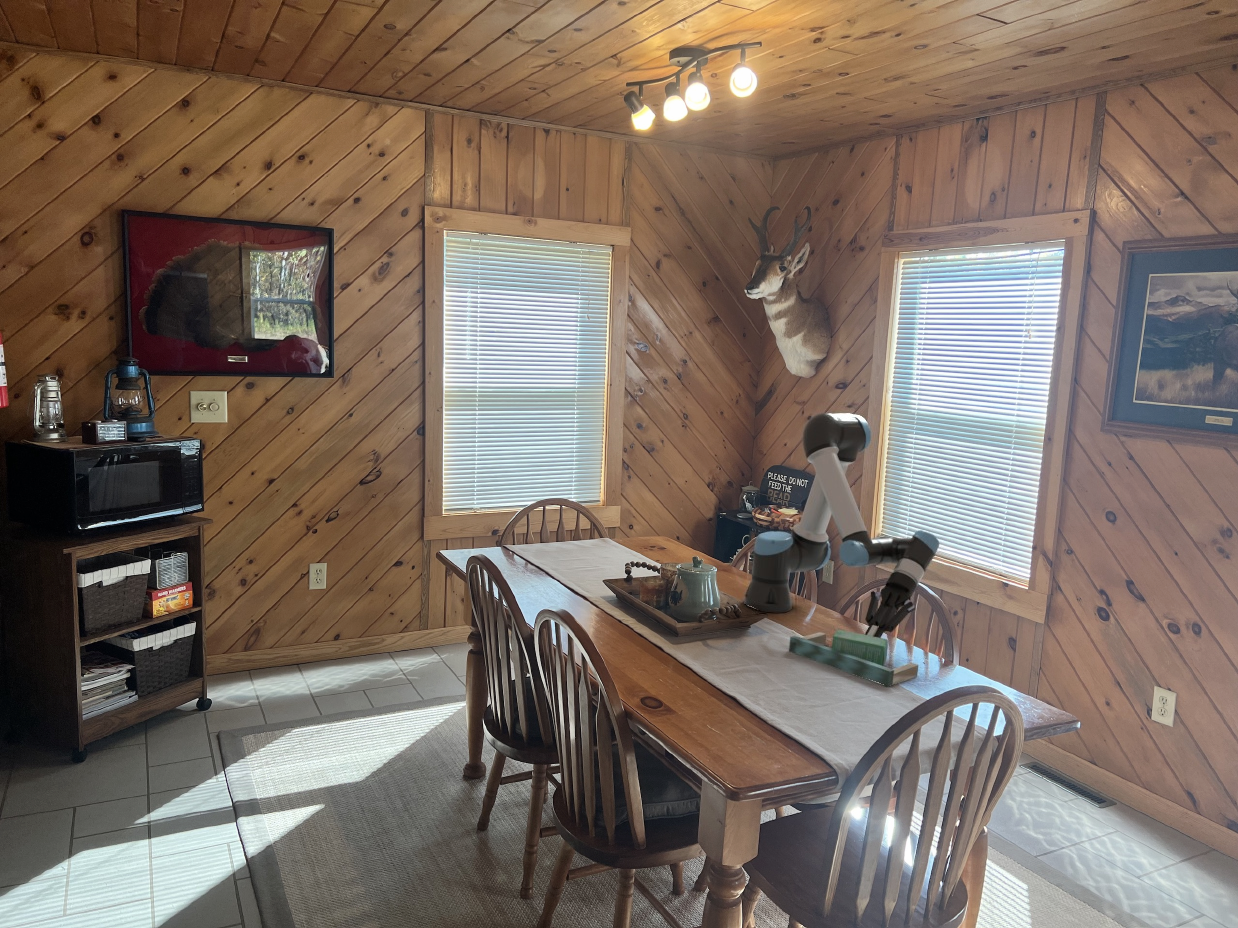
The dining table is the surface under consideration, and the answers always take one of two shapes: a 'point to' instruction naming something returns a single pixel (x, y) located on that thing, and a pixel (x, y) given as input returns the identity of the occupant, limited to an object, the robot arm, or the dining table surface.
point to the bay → (849, 660)
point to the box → (861, 646)
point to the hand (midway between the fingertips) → (865, 647)
